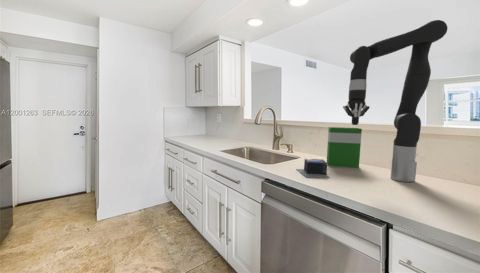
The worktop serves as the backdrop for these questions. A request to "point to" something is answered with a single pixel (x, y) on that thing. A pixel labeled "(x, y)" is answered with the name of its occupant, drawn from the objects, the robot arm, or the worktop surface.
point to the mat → (312, 174)
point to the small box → (315, 166)
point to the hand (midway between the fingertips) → (354, 124)
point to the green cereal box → (344, 147)
